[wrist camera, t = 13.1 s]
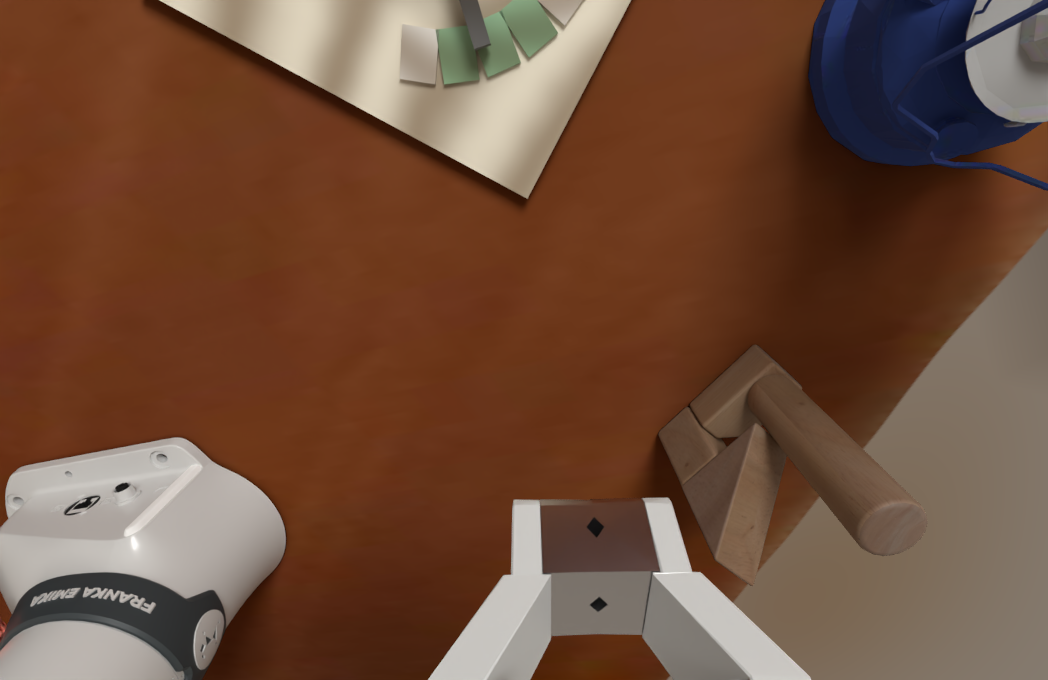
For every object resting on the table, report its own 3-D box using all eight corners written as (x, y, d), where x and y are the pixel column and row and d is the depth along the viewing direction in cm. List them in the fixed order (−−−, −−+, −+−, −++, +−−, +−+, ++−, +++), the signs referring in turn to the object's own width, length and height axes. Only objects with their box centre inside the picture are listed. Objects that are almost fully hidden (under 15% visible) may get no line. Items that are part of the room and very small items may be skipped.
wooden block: (655, 432, 46) (737, 614, 30) (753, 341, 43) (906, 487, 27) (685, 456, 47) (781, 644, 31) (783, 368, 44) (948, 525, 28)
